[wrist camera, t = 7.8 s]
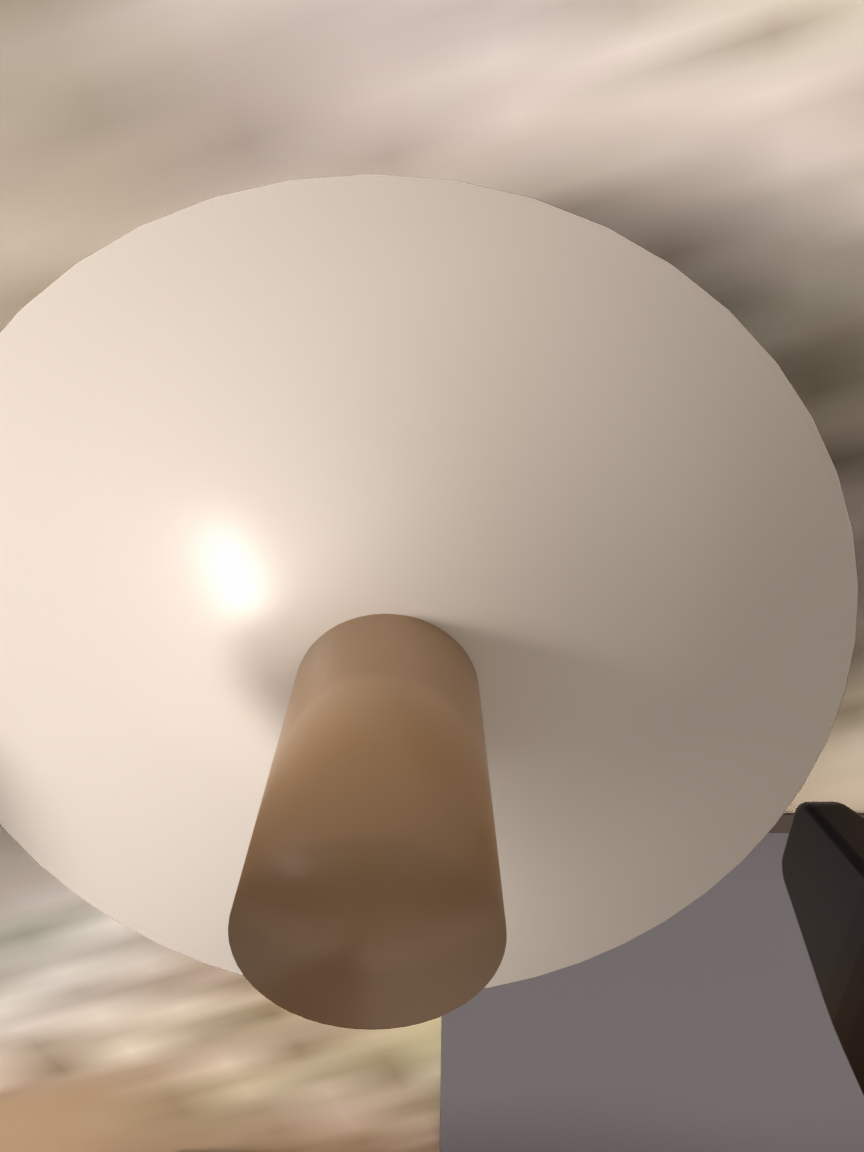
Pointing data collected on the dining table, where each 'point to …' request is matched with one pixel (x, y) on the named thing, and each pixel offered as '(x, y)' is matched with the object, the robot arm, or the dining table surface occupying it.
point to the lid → (403, 590)
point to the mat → (662, 1040)
